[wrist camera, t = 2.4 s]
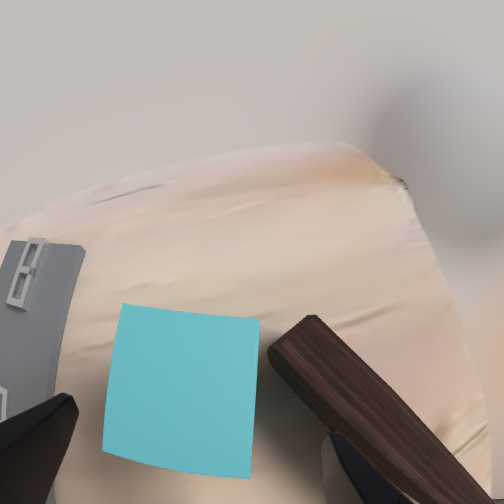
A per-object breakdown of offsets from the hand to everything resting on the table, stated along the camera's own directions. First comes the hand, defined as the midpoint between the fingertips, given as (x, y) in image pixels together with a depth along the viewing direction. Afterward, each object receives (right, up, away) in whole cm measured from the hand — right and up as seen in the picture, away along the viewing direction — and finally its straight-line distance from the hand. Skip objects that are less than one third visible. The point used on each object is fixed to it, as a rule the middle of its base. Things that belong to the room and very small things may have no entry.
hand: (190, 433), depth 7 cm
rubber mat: (-18, -4, +7) cm, 19 cm away
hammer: (+13, -11, +5) cm, 18 cm away
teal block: (-1, -3, +8) cm, 9 cm away
